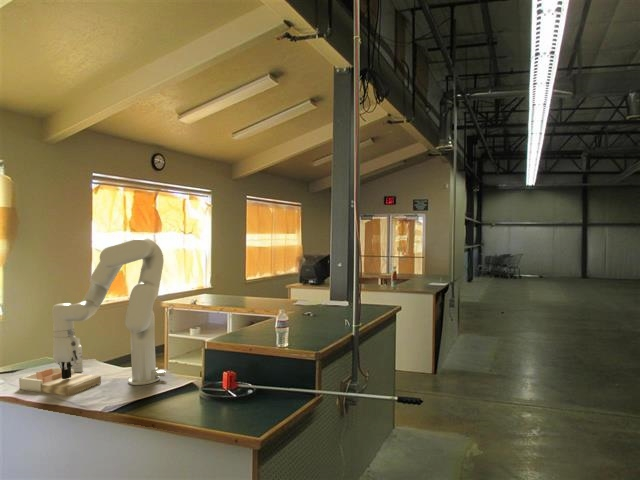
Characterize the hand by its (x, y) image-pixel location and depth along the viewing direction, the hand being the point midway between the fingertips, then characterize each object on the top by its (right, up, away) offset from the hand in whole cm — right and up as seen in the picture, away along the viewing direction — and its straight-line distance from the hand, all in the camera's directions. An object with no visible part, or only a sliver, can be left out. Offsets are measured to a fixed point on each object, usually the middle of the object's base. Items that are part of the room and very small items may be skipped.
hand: (66, 378), depth 202 cm
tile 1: (-10, 0, +4) cm, 10 cm away
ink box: (-9, -4, +22) cm, 24 cm away
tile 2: (-7, -3, +3) cm, 8 cm away
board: (+3, -4, -1) cm, 5 cm away
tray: (-10, -4, +4) cm, 11 cm away
